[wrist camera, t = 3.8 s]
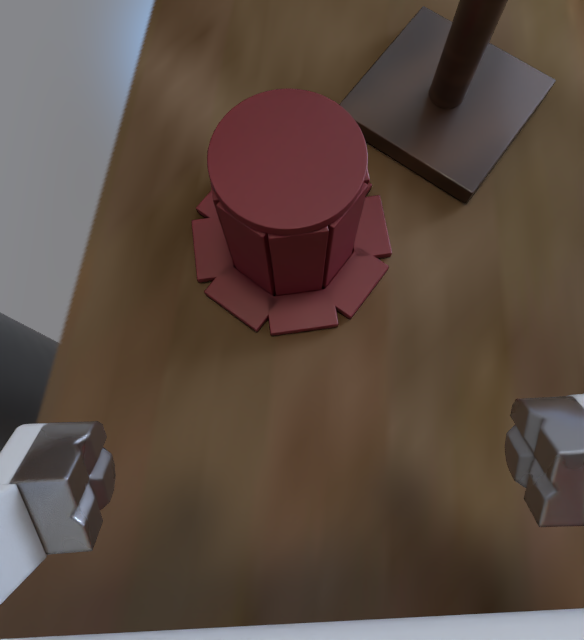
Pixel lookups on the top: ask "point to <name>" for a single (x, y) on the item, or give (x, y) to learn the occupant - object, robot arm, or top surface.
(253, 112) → the hat
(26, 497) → the robot arm
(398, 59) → the hat stand
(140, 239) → the top surface
